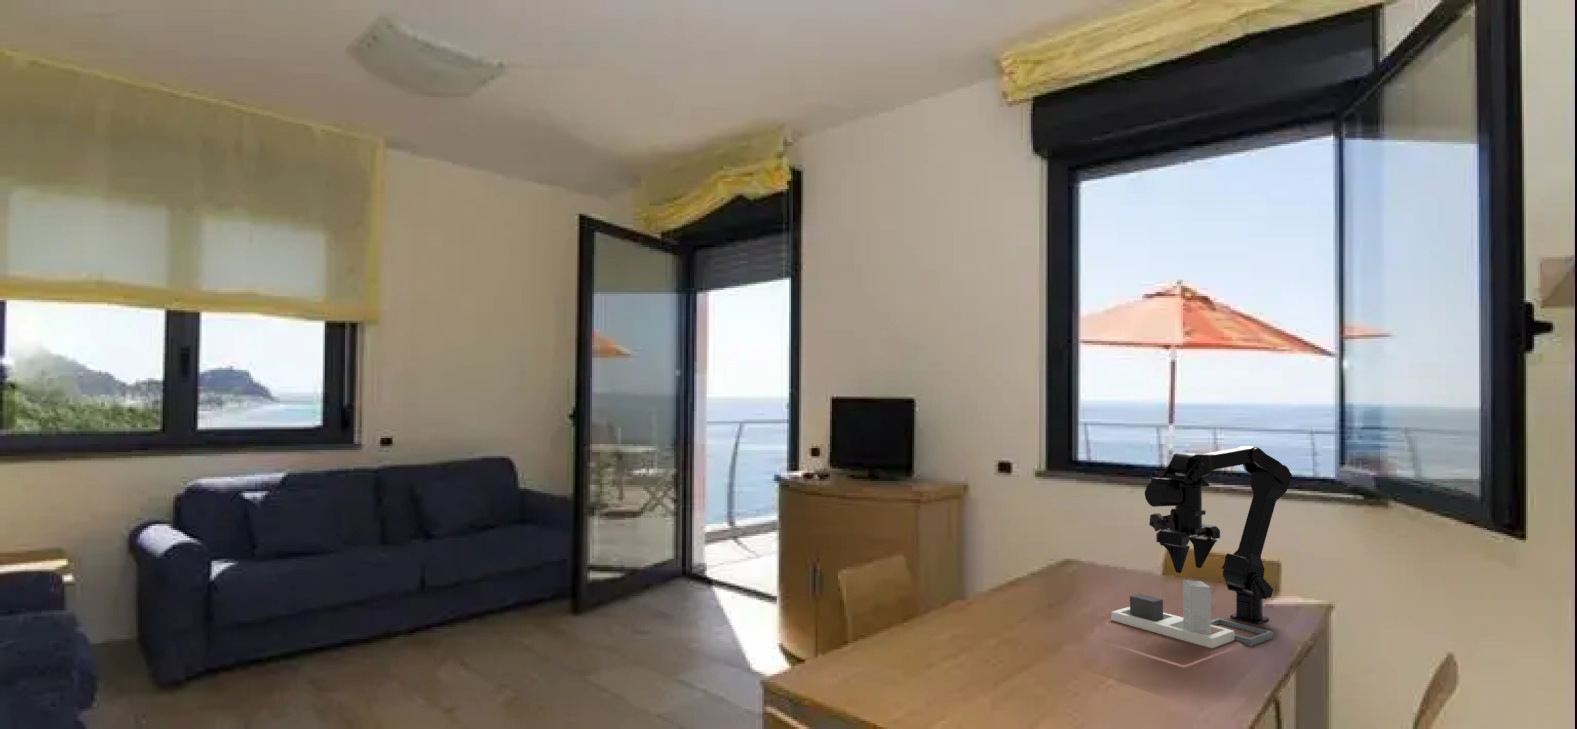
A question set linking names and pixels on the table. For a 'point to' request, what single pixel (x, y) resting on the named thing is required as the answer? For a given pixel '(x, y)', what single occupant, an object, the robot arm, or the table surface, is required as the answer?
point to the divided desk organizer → (1175, 628)
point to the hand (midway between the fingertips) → (1188, 570)
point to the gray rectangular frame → (1247, 641)
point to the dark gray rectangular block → (1146, 607)
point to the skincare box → (1197, 607)
